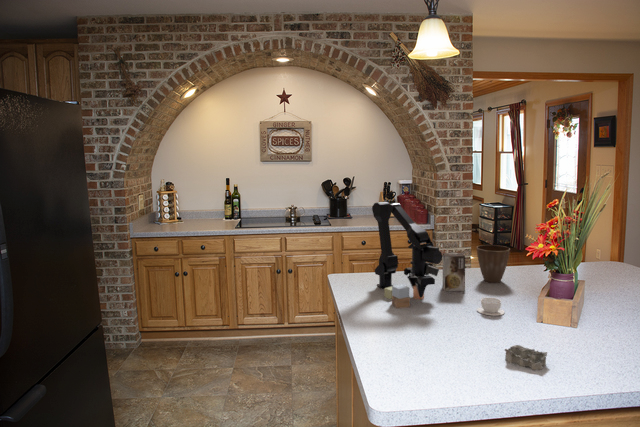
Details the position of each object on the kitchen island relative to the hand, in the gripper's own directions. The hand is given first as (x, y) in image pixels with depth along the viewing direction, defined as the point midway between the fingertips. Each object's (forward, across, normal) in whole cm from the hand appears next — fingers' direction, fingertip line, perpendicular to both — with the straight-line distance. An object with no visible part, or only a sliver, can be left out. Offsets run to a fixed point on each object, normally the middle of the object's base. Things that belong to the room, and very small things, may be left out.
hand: (418, 295), depth 197 cm
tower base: (+1, -7, +11) cm, 13 cm away
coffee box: (+1, +7, -20) cm, 21 cm away
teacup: (+2, -23, -20) cm, 30 cm away
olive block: (+1, +4, +11) cm, 12 cm away
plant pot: (+1, +14, -44) cm, 46 cm away
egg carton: (+2, -64, -5) cm, 64 cm away
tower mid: (-3, -7, +11) cm, 13 cm away
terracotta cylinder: (+1, 0, 0) cm, 1 cm away
